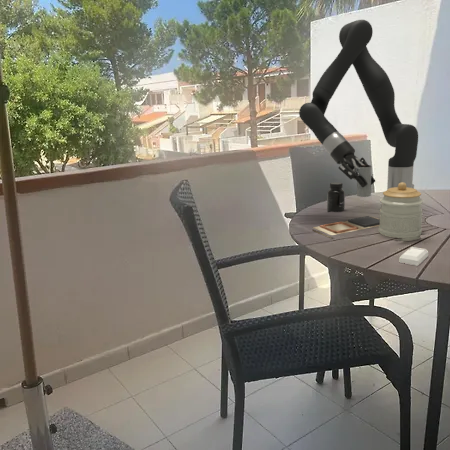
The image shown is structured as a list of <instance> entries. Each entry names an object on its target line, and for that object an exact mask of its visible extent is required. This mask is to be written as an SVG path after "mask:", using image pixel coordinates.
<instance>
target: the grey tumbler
mask: <svg viewBox="0 0 450 450" xmlns="http://www.w3.org/2000/svg"><path fill="white" fill-rule="evenodd" d="M357 167H358V171H359V173H360V176H362V177H363V178H364V179H365V180H366V181H367V183H368V184H367V185H366V186H365V187H362V186H361V185H360V184H359V183H358V182H357V181H356V196H357V197H360V198H367V197H371V196H372V185H371V176H372V165H371V164H368V165H359V166H357Z"/></svg>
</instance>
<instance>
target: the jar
mask: <svg viewBox="0 0 450 450" xmlns="http://www.w3.org/2000/svg"><path fill="white" fill-rule="evenodd" d="M382 195H383V197H381V198H380V199H379V201H380V203H381V205H380V206H381V207H380V209H379V219H380V224H379V226H378V233H379V234H381V235H382V236H385V237H388V238H394V239H395V240H394V241H397V242H411V241H416V240H419V239H420V238H421V236H422V231H423V230H422V223H423V222H422V221H423V220H422V219H423V213H424V210H423V209H422V205H423V204H424V199H422V198H421V195H422V192H420V191H418V190H417V189H416V188H415V187H414V188H408V187H407V185H406V183H404V182H401V183H399V184H398V187H394V188H389V189H388V190H387V189H386V190H384V191H383V192H382Z"/></svg>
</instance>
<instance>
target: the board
mask: <svg viewBox="0 0 450 450" xmlns="http://www.w3.org/2000/svg"><path fill="white" fill-rule="evenodd" d="M372 217H373V218H376V219H379V220H380V218H378V217H375V216H372ZM376 227H379V225H376V226H371V227H366V228H364V227H361V226H359V225H356V224H353V223H350V222H348V220H346V221H337V222H330V223H326V224H321V225H319V226H314V227H312V229H311V230H312V232H314V233H317V234H319V235H322V236H324V237H326V238H329V239H331V240H332V239H333V240H334V239H335V237H332V236H337V235H340V234H346V233H351V232H356V231H362V230H366V229H371V228H376Z"/></svg>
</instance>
